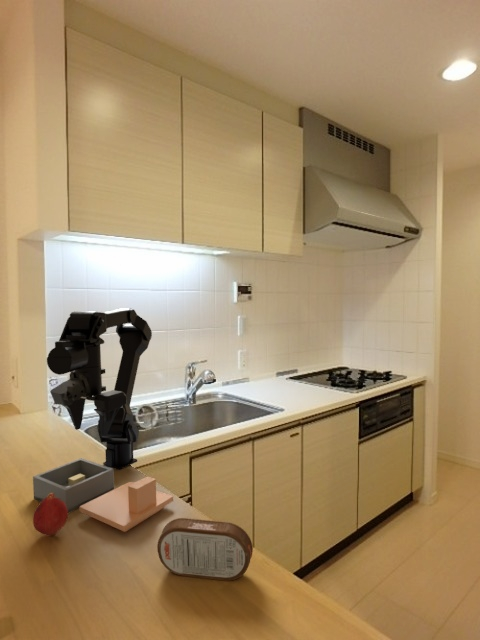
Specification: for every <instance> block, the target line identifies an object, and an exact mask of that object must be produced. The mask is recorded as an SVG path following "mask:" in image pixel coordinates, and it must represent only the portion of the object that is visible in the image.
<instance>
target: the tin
mask: <svg viewBox="0 0 480 640" xmlns="http://www.w3.org/2000/svg"><path fill="white" fill-rule="evenodd" d="M163 527H164V528H163V529H162V532H161V534H160V536H159V539H158V541H157V546H156V547H157V549H156V550H157V554H158V557H159V560H160V562H161V564H162V566H163V567H164V568H166V569H167V570H168V571H169V572H171V573H173V574H175V575H177V576H182V577H192V578H198V579H199V578H200V579H208V580H209V579H210V580H215V581H216V580H218V581H224V582H226V581H228V582H230V581H234V580H237V579H239V578H240V577H242V576H244V575H245V573H246V571H247V570H248V569H249V566H250V563H251V559H252V556H253V551H254V550H253V543H252V539H251V538H250V536H249V534H248V533H247V531H245V529H243V528H242V527H241V526H239V525H238V524H236V523H232V522H229V521H219V520H210V519H198V518H188V517H179V518H175V519H172V520H170V521H168V523H167V524H166V525H165V526H163Z"/></svg>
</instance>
